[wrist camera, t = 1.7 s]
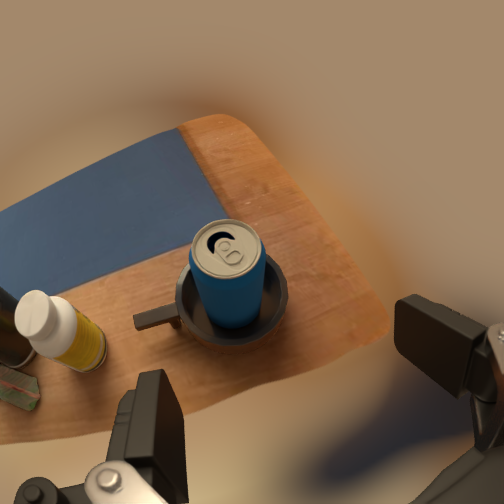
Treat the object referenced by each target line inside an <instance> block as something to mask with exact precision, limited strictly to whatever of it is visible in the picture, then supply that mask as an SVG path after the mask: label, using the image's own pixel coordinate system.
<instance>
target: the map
mask: <svg viewBox="0 0 504 504" xmlns="http://www.w3.org/2000/svg"><path fill="white" fill-rule="evenodd" d="M40 398H41V395H39V391H38V385H37V379H36V378H35V377H31V376H29V375H26V374H23V373H21V372H18V371H16V370H13V369H11V368H8V367H6V366H4V365H1V364H0V399H2V400H4V401H6V402H8V403H11V404H13V405H15V406H17V407H19V408H22V409H24V410H27V411H31V410H32V409H34V406H35V405H36V401H38V400H39V399H40Z"/></svg>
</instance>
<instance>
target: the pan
mask: <svg viewBox="0 0 504 504" xmlns="http://www.w3.org/2000/svg"><path fill="white" fill-rule="evenodd" d="M175 301H176V305H177V309H178V312H179V316H180V318H181V319H182V321H183V323H184V324H185V326H186V327H187V329H188V330H189V332H190V333H191V334H192V336H193V337H194V339H196V341H198V342H199V343H200V344H202V345H203V346H205V347H206V348H208V349H210V350H212V351H215V352H218V353H222V354H243V353H247V352H251V351H253V350H255V349H258V348H259V347H261V346H263V345H264V344H265V343H267V342H268V341H269V340H270V339H271V338H272V337H273V336H274V334H275V333H276V331H277V330H278V328H279V327H280V325H281V322H282V319H283V316H284V313H285V309H286V305H287V301H288V288H287V281H286V279H285V277H284V275H283V272H282V270H281V268H280V266H279V265H278V264H277V263H276V262H275V261H274V260H273V259H272V258H271V257H270V256H269V255H267V254H266V262H265V272H264V282H263V291H262V301H261V308H260V311H259V313H258V315H257V317H256V318H255V319H254V320H253V321H252V322H251V323H249V324H248V325H246V326H244V327H241V328H236V329H228V328H224V327H221V326H219V325H217V324H215V323H214V322H213V321H211V319H210V318H209V317H208V315H207V314H206V311H205V309H204V306H203V303H202V300H201V297H200V295H199V292H198V289H197V286H196V283H195V280H194V277H193V274H192V271H191V268H190V265H189V263H188V264H187V265H186V266H185V268H184V269H183V270H182V272H181V275H180V277H179V279H178V282H177V285H176V296H175Z"/></svg>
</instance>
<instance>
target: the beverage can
mask: <svg viewBox="0 0 504 504" xmlns="http://www.w3.org/2000/svg"><path fill="white" fill-rule="evenodd" d="M265 262H266V252H265V248H264V245H263V243H262V241H261V240H260V238H259V236H258V235H257V233H256V232H255V231H254V229H253V228H251V227H250V226H249V225H247V224H245V223H243V222H241V221H237V220H232V219H223V220H217V221H214V222H211V223H209V224H207V225H206V226H204V227H203V228H202V229H201V230H200V231H199V232H198V233H197V234H196V236H195V238H194V240H193V243H192V246H191V249H190V253H189V265H190V268H191V271H192V274H193V277H194V280H195V283H196V286H197V289H198V292H199V295H200V297H201V300H202V303H203V306H204V309H205V311H206V314H207V315H208V317H209V318H210V319H211V321H213V322H214V323H215V324H217V325H219V326H221V327H224V328H228V329H236V328H241V327H244V326H246V325H248V324H249V323H251V322H252V321H253V320H254V319H255V318H256V317H257V315H258V313H259V311H260V308H261V301H262V291H263V282H264V272H265Z"/></svg>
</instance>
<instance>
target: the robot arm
mask: <svg viewBox="0 0 504 504" xmlns="http://www.w3.org/2000/svg"><path fill="white" fill-rule="evenodd" d="M18 303H19V301H18V300H17V299H15V298H14V297H13V296H12V295H10V294H9V293H8V292H6V291H5V290H4V289H3V288H2V287H0V362H1V363H3V364H4V365H6V366H8V367H10V368H13V369H21V368H23V367H25V366H27V365H28V364H29V363H30V362H31V361H32V360H33V358H34V356H35V355H36V353H37V352H36V351H35V350H34V348H33V347H32V345H31V344H30V341H29V339H27V338H26V337H24V336H23V335H21V334H20V333H19V331H18V330H17V328H16V325H15V311H16V308H17V305H18ZM394 321H395V322H394V343H395V346H396V348H397V350H398V352H399V353H400V354H401V355H403V356H404V357H405V358H407V359H408V360H409V361H410V362H411V363H413V364H414V365H415V366H417V367H418V368H419V369H420V370H421V371H423V372H424V373H425V374H426V375H428V376H429V377H430V378H431V379H433V380H434V381H435V382H436V383H438V384H439V385H440V386H442V387H443V388H444V389H445V390H447V391H448V392H449V393H450V394H452V395H453V396H454V397H455V398H457V399H459V398H460V397H462V396H463V395H464V394H466V393H467V392H468V391H470V392H471V393H472V394H471V397H470V406H471V413H472V420H473V428H474V438H475V444H474V447H472V448H471V449H470V450H468V451H467V452H466V453H465V454H463V455H462V456H461V457H460V458H458V459H457V460H456V461H455V462H453V463H452V464H451V465H449V466H448V467H447V468H445V469H444V470H443V471H442V472H441V473H440V474H439V475H438V476H437V477H436V478H435V479H434V481H433V482H432V483H431V484H430V485H429V486H428V487H427V488H426V489H425V490H424V491H423V492H422V493H421V494H420V495H419V496H418V497H417V498H416V499H415V500H413V501H412V502H411V503H409V504H504V322H503V323H497V324H494V325H492V326H491V327H490V328H488V327H486V326H484V325H482V324H480V323H478V322H476V321H474V320H472V319H470V318H468V317H466V316H464V315H460V313H458V312H456V311H454V310H453V311H452V309H450V308H448V307H446V306H444V305H442V304H438V303H434V302H432V301H429V300H428V299H426V298H423V297H421V296H419V295H417V294H412V295H410V296H408V297H405V298H403V299H400V300H398V301H397V302H396V304H395V320H394ZM114 424H115V425H113V429H112V434H111V438H110V442H109V447H108V452H107V457H106V461H105V462H103V463H100V464H98V465H97V466H95V467H94V468H93V469H92V470H91V471H90V472H89V473H88V475H87V476H86V479H85V483H82V484H79V485H74V486H69V487H65V488H60V489H58V488H57V487H56V486H55V485H54V484H53V483H52V482H51V481H50V480H48V479H46V478H43V477H34V478H31V479H28V480H26V481H25V482H24V483H23V484H22V485H21V486H20V487H19V489H18V491H17V493H16V497H15V500H14V504H185V503H189V498H188V485H187V472H186V455H185V434H184V418H183V414H182V410H181V407H180V404H179V402H178V400H177V398H176V396H175V393H174V391H173V389H172V386H171V384H170V382H169V379H168V377H167V375H166V373H165V371H164V370H163V369H159V370H153V371H148V372H142V373H140V374H139V377H138V381H137V386H136V389H134V390H128V391H127V392H126V394H125V395H124V396H123V398H122V399H121V400H120V402H119V405H118V409H117V415H116V417H115V421H114Z"/></svg>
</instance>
